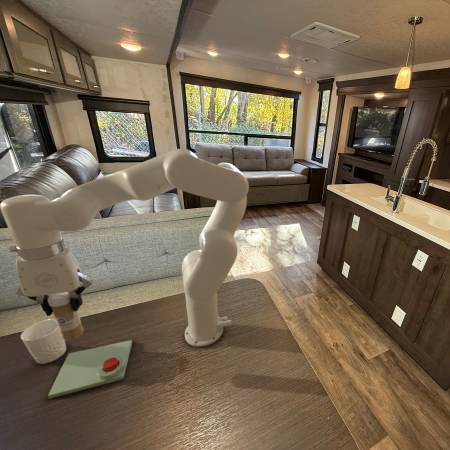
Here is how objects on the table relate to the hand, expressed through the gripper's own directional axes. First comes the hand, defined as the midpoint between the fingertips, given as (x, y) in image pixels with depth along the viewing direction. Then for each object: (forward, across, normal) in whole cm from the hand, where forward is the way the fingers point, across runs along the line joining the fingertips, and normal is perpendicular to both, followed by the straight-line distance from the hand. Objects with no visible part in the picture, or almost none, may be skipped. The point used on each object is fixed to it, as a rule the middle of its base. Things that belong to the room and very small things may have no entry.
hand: (64, 309), depth 64 cm
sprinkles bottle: (+9, 0, 0) cm, 9 cm away
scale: (+21, +3, -2) cm, 21 cm away
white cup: (+21, -10, +7) cm, 24 cm away
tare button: (+18, +8, -5) cm, 21 cm away
